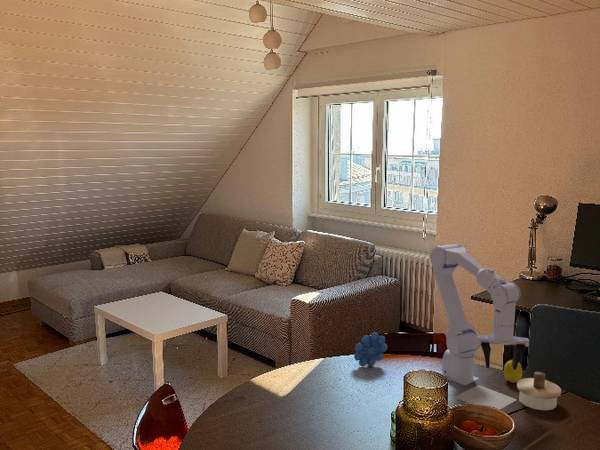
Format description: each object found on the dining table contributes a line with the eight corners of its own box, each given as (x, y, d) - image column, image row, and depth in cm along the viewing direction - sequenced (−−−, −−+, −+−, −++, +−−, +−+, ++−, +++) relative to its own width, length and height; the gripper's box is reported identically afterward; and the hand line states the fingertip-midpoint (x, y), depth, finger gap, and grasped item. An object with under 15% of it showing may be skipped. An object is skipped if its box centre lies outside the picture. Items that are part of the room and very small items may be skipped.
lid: (508, 388, 167) (510, 372, 167) (529, 377, 175) (530, 362, 174) (548, 402, 158) (550, 386, 158) (568, 390, 166) (569, 374, 165)
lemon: (522, 387, 178) (524, 363, 177) (504, 386, 179) (505, 362, 178) (519, 380, 183) (521, 356, 182) (501, 378, 184) (503, 355, 183)
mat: (453, 398, 170) (454, 397, 170) (478, 386, 179) (478, 384, 178) (493, 415, 161) (493, 413, 160) (517, 401, 169) (517, 399, 169)
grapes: (382, 360, 199) (383, 327, 197) (389, 367, 192) (390, 334, 190) (350, 362, 197) (351, 329, 195) (356, 370, 190) (356, 336, 188)
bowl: (512, 402, 168) (513, 388, 168) (529, 392, 175) (530, 378, 174) (545, 415, 161) (546, 400, 160) (562, 404, 167) (563, 390, 166)
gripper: (480, 326, 164) (477, 371, 166) (533, 329, 162) (529, 374, 164) (476, 319, 171) (473, 361, 173) (526, 321, 169) (523, 364, 171)
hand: (500, 367), depth 169 cm, fingers open, 7 cm apart
